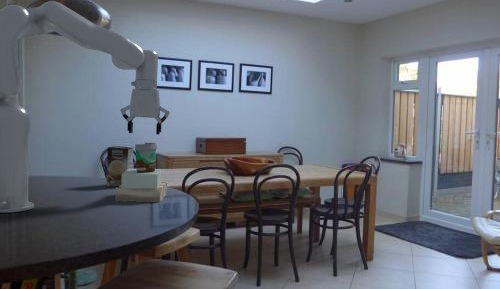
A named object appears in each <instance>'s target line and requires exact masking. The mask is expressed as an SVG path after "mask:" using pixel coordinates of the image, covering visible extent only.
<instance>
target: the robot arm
mask: <svg viewBox="0 0 500 289" xmlns="http://www.w3.org/2000/svg"><path fill="white" fill-rule="evenodd" d="M54 32H56V33H57V34H58V35H60V36H62V37H64V38H66V39H68V40H69V41H70V42H73V43H74V44H77V45H78V46H80V47H82V48H84V49H88V50H92V51H99V52H103V53H105V54H107V55H110V56H111V63H112V64H113V66H114V67H116V68H117V69H119V70H124V71H125V70H126V71H129V70H131V71H132V70H134V71H135V80H134V81H131V82H130V85H131V86H133V87H134V88H132V90H131V95H130V96H131V97H130V103H129V105H126V106H124V107H122V108H121V109H119V111H120V113H121V115H122V118H123V119H125V121H126V122H127V129H126V131H128V134H133V133H134V130H133V129H134V122H133V121H134V119H135V118H146V119H147V118H152V119H155V120H156V121H157V122H156V127H155V129H156V130H155V131H156V132H155V134H156V135H160V134H161V133H162V124H163V123H164V122H165V121H166V120H167V119H168V118H169V115H170V111H169V110H167V109H166V108H164V107H162V106H161V101H160V91H159V90H158V71H159V70H158V68H159V66H158V65H159V55H158V53H157V52H156V51H155V50H149V49H148V50H147V49H142V48H141V47H140V46H139V45H138V44H136V43H135V42H133V41H131V40H130V39H128V38H127V37H125V36H123V35H122V34H119V33H117V32H115V31H112V30H109V29H108V28H105V27H103V26H100V25H97V24H95V23H94V22H92V21H90V20H89V19H87V18H86V17H84V16H83V15H80V14H79V13H78V12H75V11H74V10H72V9H71V8H69V7H67V6H66V5H64V4H62V3H61V2H59V1H55V0H49V1H47V2H43V3H42V4H41V5H40V6H37V7H31V8H25V7H23V6H21V5H18V4H10V5H6V6H4V7H2V8H0V213H2V214H3V213H4V214H5V213H17V212H18V213H20V212H25V211H29V210H31V209H33V208H35V204H34V202H31V201H29V143H30V142H29V141H30V140H29V139H30V132H31V118H30V115H29V113H28V111H27V110H26V109H25V107H23V106H22V105H20V100H19V93H20V92H21V90H22V86H23V85H22V82H23V81H22V78H21V73H20V67H19V63H18V56H17V55H18V54H17V43H18V41H19V39H25V38H29V37H35V36H41V35H46V34H50V33H54ZM127 111H129V115H128V114H127ZM161 112H162V113H164V114H163V116H162V117H160V115H161Z"/></svg>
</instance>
